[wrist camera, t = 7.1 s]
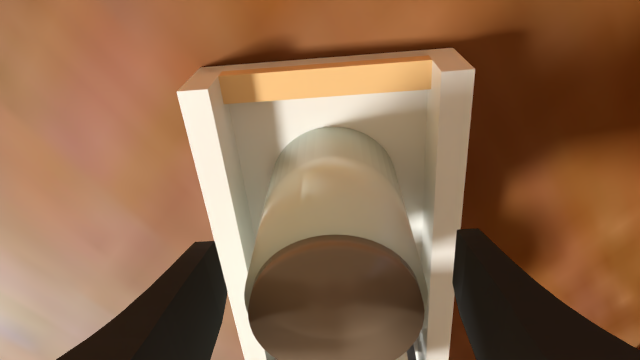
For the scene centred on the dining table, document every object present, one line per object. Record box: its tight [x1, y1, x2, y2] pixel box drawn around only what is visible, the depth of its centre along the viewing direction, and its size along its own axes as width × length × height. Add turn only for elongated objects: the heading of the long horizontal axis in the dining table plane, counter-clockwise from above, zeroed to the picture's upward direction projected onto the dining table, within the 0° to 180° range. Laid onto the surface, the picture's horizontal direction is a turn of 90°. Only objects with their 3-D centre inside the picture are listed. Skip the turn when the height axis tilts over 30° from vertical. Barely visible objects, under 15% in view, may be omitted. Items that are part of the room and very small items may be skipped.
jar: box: [244, 127, 428, 360], centre depth 14 cm, size 5×5×7 cm
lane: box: [177, 48, 475, 360], centre depth 19 cm, size 9×21×5 cm, turn 5°
